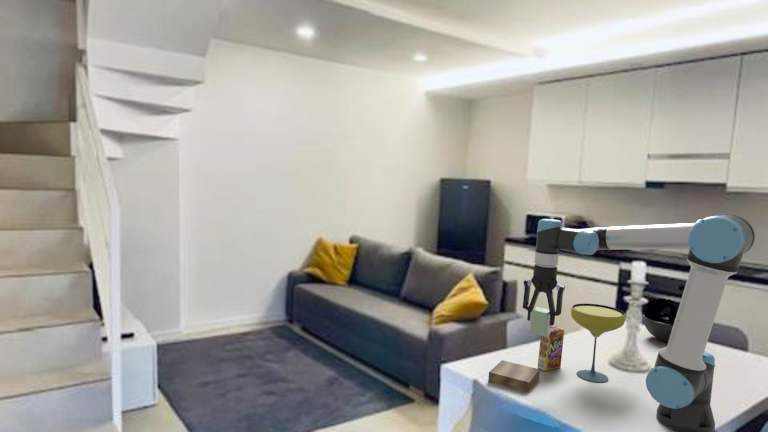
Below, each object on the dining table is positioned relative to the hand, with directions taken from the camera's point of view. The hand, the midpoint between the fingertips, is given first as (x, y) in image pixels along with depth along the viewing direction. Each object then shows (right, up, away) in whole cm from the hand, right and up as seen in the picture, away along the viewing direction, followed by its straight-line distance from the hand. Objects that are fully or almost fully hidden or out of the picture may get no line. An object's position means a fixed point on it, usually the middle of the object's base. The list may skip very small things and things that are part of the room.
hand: (539, 331), depth 171 cm
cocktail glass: (+23, -20, +13) cm, 33 cm away
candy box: (+10, -18, +20) cm, 29 cm away
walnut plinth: (-7, -19, +7) cm, 22 cm away
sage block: (0, 0, 0) cm, 0 cm away
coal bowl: (+76, -18, +59) cm, 98 cm away
